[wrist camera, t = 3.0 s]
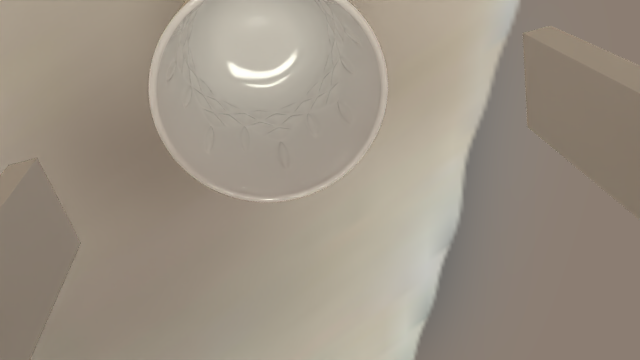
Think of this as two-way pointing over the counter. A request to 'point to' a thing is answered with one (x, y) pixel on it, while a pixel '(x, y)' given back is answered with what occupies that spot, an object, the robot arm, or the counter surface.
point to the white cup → (268, 94)
